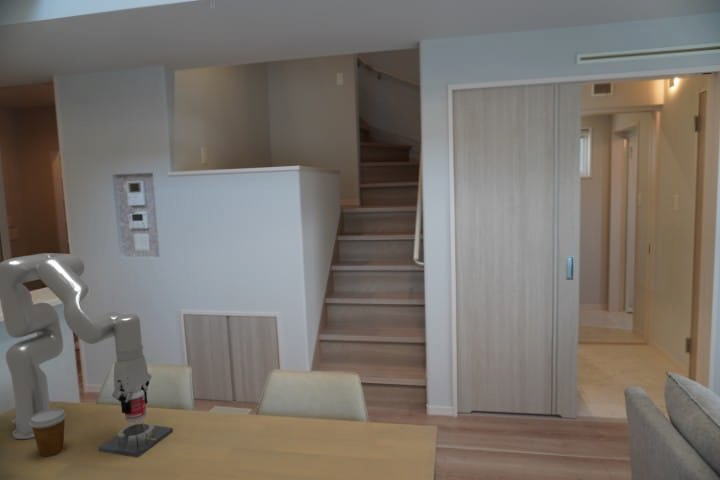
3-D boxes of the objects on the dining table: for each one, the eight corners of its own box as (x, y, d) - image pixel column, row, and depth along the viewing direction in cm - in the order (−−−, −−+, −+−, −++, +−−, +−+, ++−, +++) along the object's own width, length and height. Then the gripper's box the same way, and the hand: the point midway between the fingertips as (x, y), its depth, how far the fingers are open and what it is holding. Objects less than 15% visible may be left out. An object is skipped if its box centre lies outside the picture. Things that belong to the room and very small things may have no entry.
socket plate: (98, 450, 150) (97, 439, 150) (136, 426, 165) (135, 415, 165) (137, 457, 146) (136, 445, 145) (173, 431, 161) (172, 420, 160)
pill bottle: (148, 419, 154) (145, 385, 152) (127, 425, 150) (123, 391, 149) (144, 412, 159) (141, 379, 158) (124, 417, 155) (120, 384, 154)
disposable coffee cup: (76, 446, 153) (72, 410, 152) (45, 462, 144) (41, 424, 143) (56, 440, 157) (53, 405, 156) (26, 456, 148) (22, 418, 147)
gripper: (140, 344, 162) (144, 395, 163) (98, 362, 145) (104, 419, 147) (158, 345, 159) (163, 397, 161) (118, 364, 143) (123, 422, 145)
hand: (134, 407), depth 154 cm, fingers closed on pill bottle, 6 cm apart
